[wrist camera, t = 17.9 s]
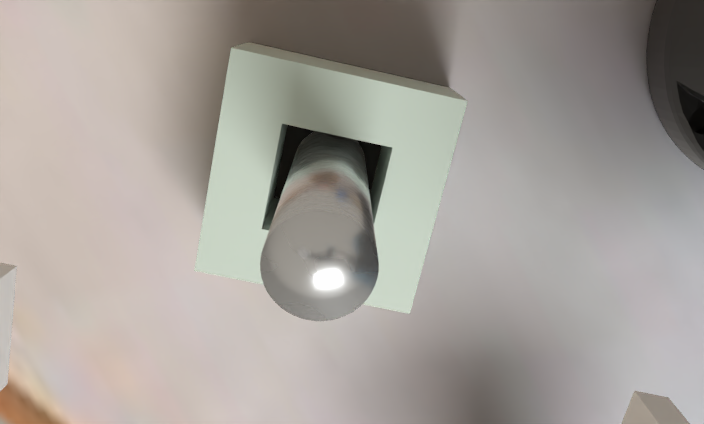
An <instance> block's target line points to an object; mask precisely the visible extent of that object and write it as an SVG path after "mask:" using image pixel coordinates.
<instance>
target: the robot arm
mask: <svg viewBox="0 0 704 424" xmlns="http://www.w3.org/2000/svg"><path fill="white" fill-rule="evenodd" d="M647 73H648V81H649V87H650V92H651V96H652V100H653V103H654V106H655V109H656V111H657V114H658V116H659V119H660V121H661V123H662V125H663V127H664V128H665V130H666V132H667V133H668V135H669V136H670V138H671V139H672V140H673V142H674V143H675V144H676V146H677V147H678V148H679V149H680V150H681V151H682V152H683V153H684V154H685V155H686V156H687V157H688V158H689V159H690V160H691V161H693V162H694V163H695V164H696V165H698V166H699V167H700V168H702V169H703V170H704V0H657V2H656V5H655V9H654V12H653V16H652V20H651V24H650V30H649V36H648V46H647ZM16 270H17V266H14V265H9V264H4V263H0V391H1V390H2V389H3V388H4V387H5V386H6V385H7V383H8V371H9V358H10V345H11V333H12V320H13V308H14V295H15V283H16ZM622 424H690V423H689V422H688V421H687V420H686V418H685V417H684V416H683V415H682V414H681V412H680V411H679V410H678V409H677V408H676V406H675V405H674V404H673V403H672V401H671V400H670V399H669V398H668V397H663V396H658V395H653V394H648V393H643V392H638V391H634V393H633V396H632V398H631V401H630V403H629V406H628V409H627V411H626V414H625V416H624V419H623V421H622Z"/></svg>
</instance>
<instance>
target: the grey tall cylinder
mask: <svg viewBox="0 0 704 424" xmlns="http://www.w3.org/2000/svg"><path fill="white" fill-rule="evenodd" d="M260 271H261V277H262V281H263V284H264V286H265V288H266V290H267V292H268V293H269V295H270V297H271V298H272V299H273V300H274V301H275V302H276V303H277V304H278V305H279V306H280V307H281V308H282V309H284V310H285V311H287V312H288V313H290V314H292V315H294V316H297V317H299V318H303V319H307V320H313V321H327V320H333V319H338V318H341V317H343V316H346V315H348V314H350V313H352V312H353V311H355V310H356V309H358V308H359V307H360V306H361V305H362V304H363V303H364V302H365V301H366V300H367V299H368V297H369V296H370V294H371V293H372V291H373V289H374V287H375V284H376V281H377V278H378V272H379V262H378V253H377V246H376V238H375V231H374V223H373V216H372V208H371V200H370V193H369V185H368V178H367V170H366V163H365V156H364V152H363V150H362V148H361V146H360V144H359V143H358V142H357V140H355V139H350V138H346V137H341V136H337V135H332V134H328V133H323V132H318V131H315V132H313V133H311V134H309V135H308V136H307V137H306V138H305V139H303V141H302V142H301V143H300V145H299V146H298V148H297V151H296V153H295V156H294V159H293V162H292V165H291V168H290V171H289V174H288V177H287V180H286V183H285V185H284V188H283V191H282V194H281V197H280V200H279V203H278V206H277V209H276V212H275V215H274V217H273V220H272V223H271V226H270V229H269V232H268V235H267V238H266V241H265V244H264V247H263V250H262V253H261V259H260Z"/></svg>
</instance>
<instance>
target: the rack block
mask: <svg viewBox="0 0 704 424" xmlns="http://www.w3.org/2000/svg"><path fill="white" fill-rule="evenodd" d="M467 102H468V101H467V100H466V99H464V98H463V97H462V96H460V95H459V94H458V93H456V92H455V91H454V90H452V89H451V88H449V87H445V86H440V85H436V84H432V83H427V82H423V81H418V80H414V79H409V78H405V77H401V76H396V75H392V74H387V73H383V72H379V71H374V70H370V69H365V68H361V67H357V66H352V65H348V64H343V63H339V62H335V61H330V60H326V59H321V58H317V57H313V56H308V55H304V54H299V53H295V52H291V51H286V50H282V49H277V48H273V47H268V46H264V45H260V44H255V43H251V42H247V43H244V44H241V45H238V46H235V47H232V48H231V51H230V57H229V63H228V69H227V75H226V81H225V88H224V94H223V100H222V106H221V112H220V118H219V124H218V130H217V136H216V142H215V148H214V154H213V161H212V167H211V173H210V179H209V185H208V191H207V197H206V203H205V209H204V215H203V221H202V228H201V234H200V240H199V246H198V252H197V258H196V264H195V270H194V271H198V272H203V273H208V274H213V275H218V276H223V277H228V278H233V279H238V280H243V281H248V282H253V283H258V284H263V281H262V277H261V271H260V259H261V253H262V250H263V247H264V244H265V241H266V238H267V235H268V232H269V229H270V226H271V223H272V220H273V217H274V215H275V212H276V209H277V206H278V203H279V200H280V199H275V198H274V193H275V188H276V183H277V178H278V173H279V168H280V162H281V157H282V152H283V147H284V142H285V137H286V132H287V127H288V125H291V126H296V127H300V128H305V129H309V130H314V131H318V132H323V133H328V134H332V135H337V136H341V137H346V138H350V139H355V140H360V141H364V142H369V143H373V144H378V145H382V146H381V150H380V154H379V159H378V163H377V167H376V171H375V175H374V179H373V184H372V188H371V192H370V200H371V208H372V216H373V223H374V231H375V238H376V246H377V253H378V262H379V272H378V278H377V281H376V284H375V287H374V289H373V291H372V293H371V294H370V296H369V297H368V299H367V300H366V301H365V302H364V303H363V304H362V305H367V306H372V307H377V308H382V309H387V310H392V311H397V312H402V313H407V314H410V311H411V308H412V304H413V300H414V297H415V293H416V289H417V286H418V282H419V278H420V275H421V271H422V267H423V264H424V260H425V256H426V253H427V249H428V245H429V242H430V238H431V234H432V231H433V227H434V223H435V220H436V216H437V212H438V209H439V205H440V201H441V198H442V194H443V190H444V187H445V183H446V179H447V176H448V172H449V168H450V165H451V161H452V157H453V154H454V150H455V146H456V143H457V139H458V135H459V132H460V128H461V124H462V121H463V117H464V113H465V110H466V106H467ZM263 285H264V284H263Z"/></svg>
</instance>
